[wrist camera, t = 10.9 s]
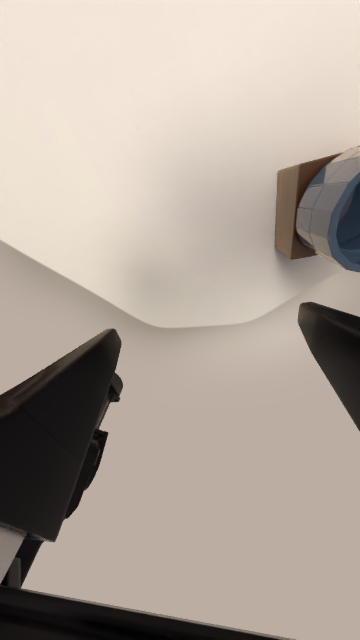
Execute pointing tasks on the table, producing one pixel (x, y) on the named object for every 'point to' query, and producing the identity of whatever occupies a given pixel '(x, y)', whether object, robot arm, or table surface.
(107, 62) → the table surface
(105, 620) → the robot arm
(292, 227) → the walnut block
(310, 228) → the bowl
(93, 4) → the table surface
